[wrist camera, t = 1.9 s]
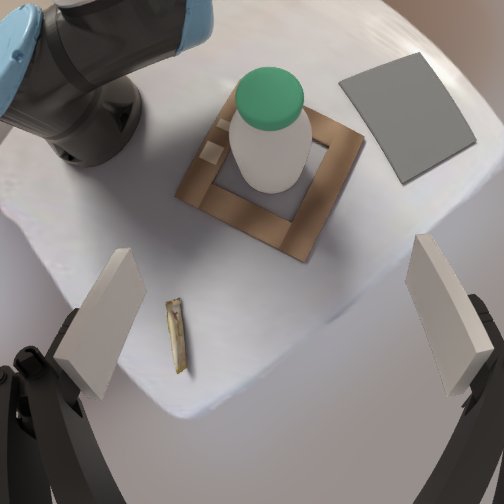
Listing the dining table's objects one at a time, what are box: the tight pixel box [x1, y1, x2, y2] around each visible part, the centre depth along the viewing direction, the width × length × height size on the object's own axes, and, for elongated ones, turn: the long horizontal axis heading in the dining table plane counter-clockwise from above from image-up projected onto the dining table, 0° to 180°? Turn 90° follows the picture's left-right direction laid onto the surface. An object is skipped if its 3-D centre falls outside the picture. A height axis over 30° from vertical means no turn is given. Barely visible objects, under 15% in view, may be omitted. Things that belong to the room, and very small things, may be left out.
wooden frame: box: [174, 79, 364, 262], centre depth 39 cm, size 18×18×1 cm
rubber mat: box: [338, 52, 476, 184], centre depth 37 cm, size 16×16×1 cm
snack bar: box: [166, 298, 187, 374], centre depth 39 cm, size 10×2×3 cm, turn 4°
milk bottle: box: [229, 67, 312, 194], centre depth 29 cm, size 8×8×20 cm
